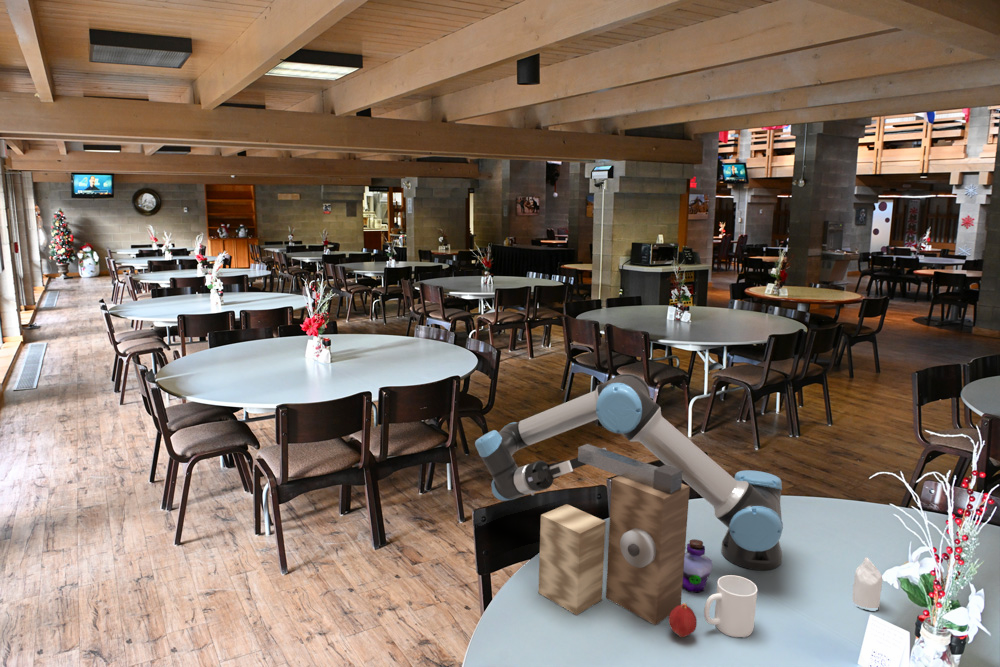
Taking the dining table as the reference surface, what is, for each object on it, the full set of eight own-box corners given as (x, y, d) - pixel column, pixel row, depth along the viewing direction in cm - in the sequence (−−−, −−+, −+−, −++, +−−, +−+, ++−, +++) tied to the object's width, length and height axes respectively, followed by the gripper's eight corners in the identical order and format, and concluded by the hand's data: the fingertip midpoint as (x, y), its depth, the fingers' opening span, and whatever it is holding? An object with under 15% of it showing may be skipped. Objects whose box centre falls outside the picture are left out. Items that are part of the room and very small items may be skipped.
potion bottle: (683, 598, 161) (687, 551, 159) (669, 578, 170) (672, 534, 167) (717, 595, 163) (721, 549, 160) (701, 576, 171) (705, 531, 169)
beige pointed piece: (891, 562, 156) (873, 566, 154) (884, 609, 158) (867, 614, 156) (868, 550, 161) (851, 554, 159) (862, 595, 163) (845, 600, 161)
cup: (761, 634, 148) (765, 592, 146) (714, 644, 144) (717, 601, 142) (737, 613, 156) (741, 572, 154) (692, 621, 152) (695, 580, 150)
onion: (664, 628, 150) (666, 595, 148) (689, 627, 150) (692, 594, 149) (672, 645, 144) (675, 611, 142) (699, 644, 144) (702, 610, 143)
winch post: (680, 607, 157) (689, 486, 152) (646, 631, 148) (655, 502, 143) (631, 582, 167) (638, 467, 162) (597, 603, 159) (602, 482, 153)
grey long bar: (576, 461, 165) (577, 444, 164) (587, 456, 168) (588, 439, 167) (670, 494, 147) (671, 475, 146) (681, 489, 150) (682, 470, 149)
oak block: (601, 600, 160) (605, 521, 156) (576, 615, 154) (579, 533, 150) (563, 579, 168) (566, 503, 165) (538, 592, 162) (540, 514, 159)
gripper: (570, 478, 189) (625, 461, 173) (504, 504, 172) (559, 487, 157) (561, 452, 190) (615, 433, 175) (495, 475, 174) (548, 456, 158)
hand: (589, 459), depth 166 cm, fingers open, 13 cm apart
